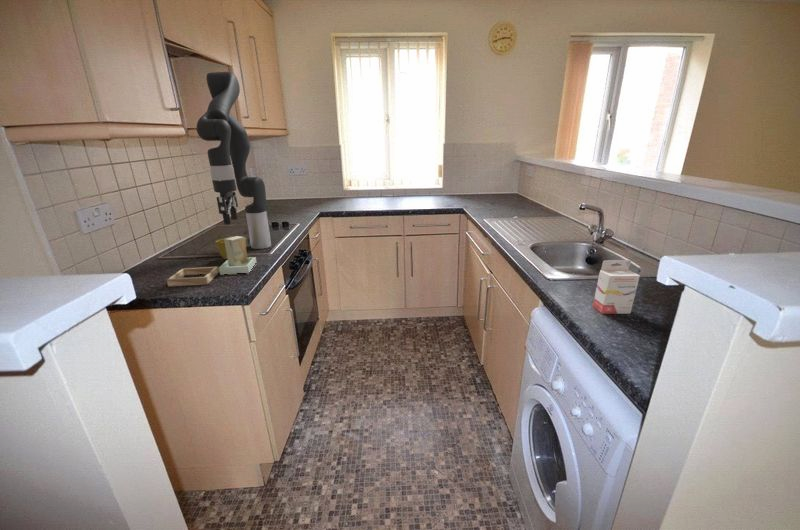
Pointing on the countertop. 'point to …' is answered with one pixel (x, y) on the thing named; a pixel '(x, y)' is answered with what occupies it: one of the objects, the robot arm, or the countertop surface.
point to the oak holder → (180, 281)
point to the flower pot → (223, 247)
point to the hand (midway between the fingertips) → (231, 221)
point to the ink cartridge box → (615, 288)
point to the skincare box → (236, 251)
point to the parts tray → (237, 267)
